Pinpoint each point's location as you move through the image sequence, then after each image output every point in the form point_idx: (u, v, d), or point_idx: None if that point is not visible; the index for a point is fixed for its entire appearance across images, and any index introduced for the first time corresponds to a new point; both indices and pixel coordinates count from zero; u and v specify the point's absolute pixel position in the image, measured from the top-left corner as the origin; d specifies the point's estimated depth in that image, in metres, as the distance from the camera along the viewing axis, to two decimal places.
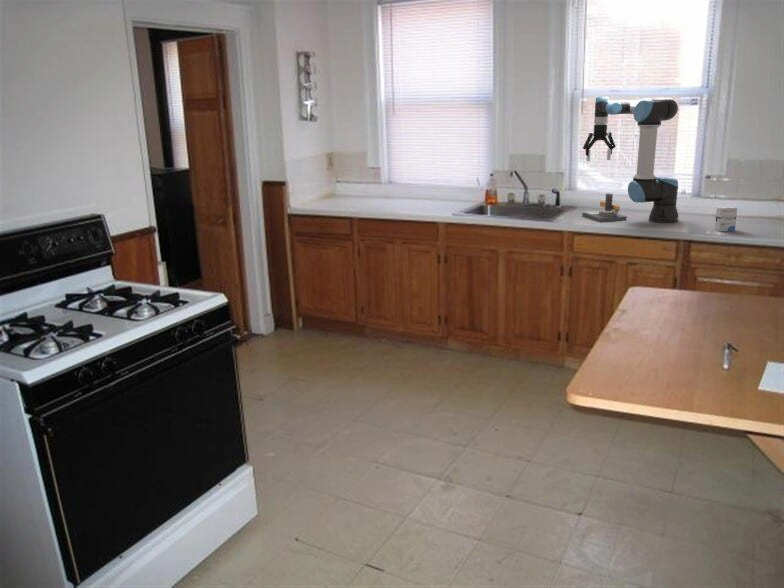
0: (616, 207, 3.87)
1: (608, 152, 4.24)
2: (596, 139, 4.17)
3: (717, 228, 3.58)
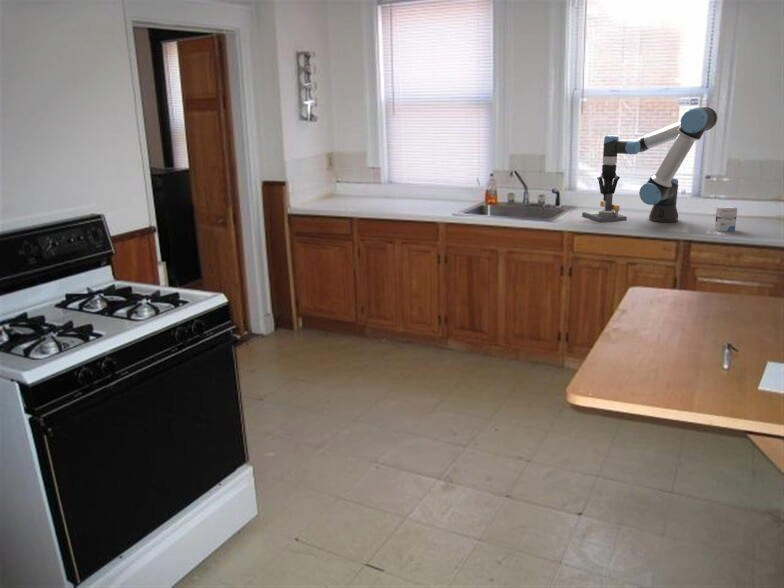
0: (616, 207, 3.87)
1: None
2: (607, 181, 3.91)
3: (717, 228, 3.58)
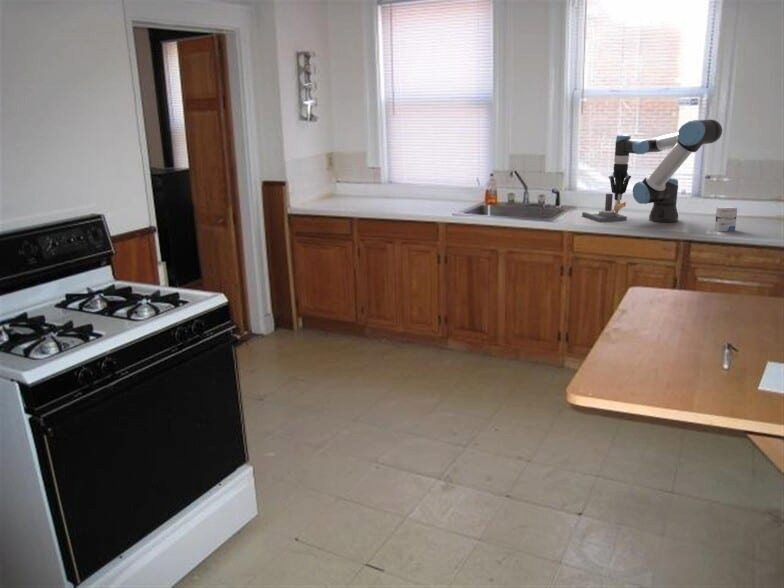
0: (614, 207, 3.88)
1: None
2: (619, 180, 3.92)
3: (717, 228, 3.58)
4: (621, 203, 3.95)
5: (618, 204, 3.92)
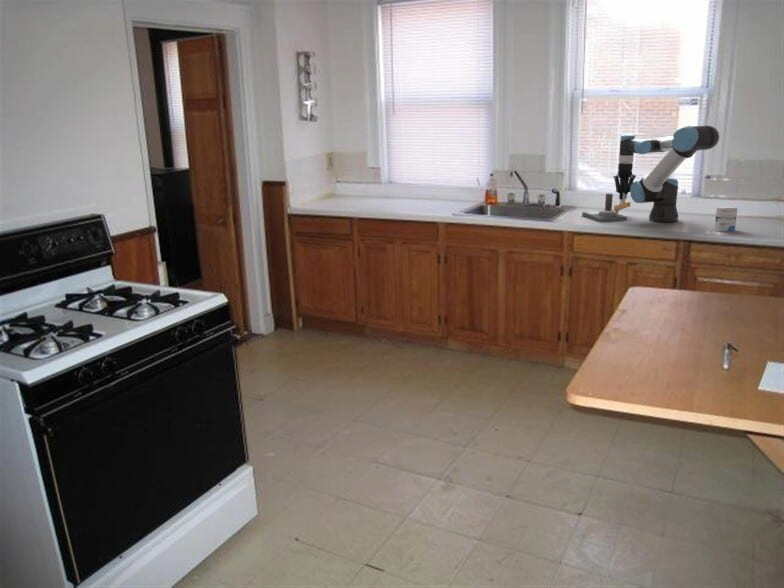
0: (614, 207, 3.88)
1: None
2: (624, 180, 3.93)
3: (717, 228, 3.58)
4: (624, 203, 3.94)
5: (619, 204, 3.92)
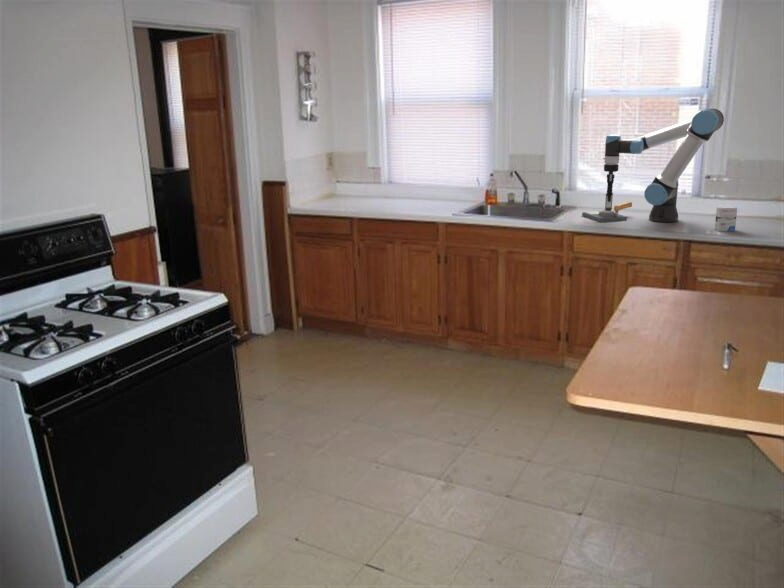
0: (614, 207, 3.88)
1: None
2: (613, 181, 3.85)
3: (717, 228, 3.58)
4: (624, 203, 3.94)
5: (620, 204, 3.92)
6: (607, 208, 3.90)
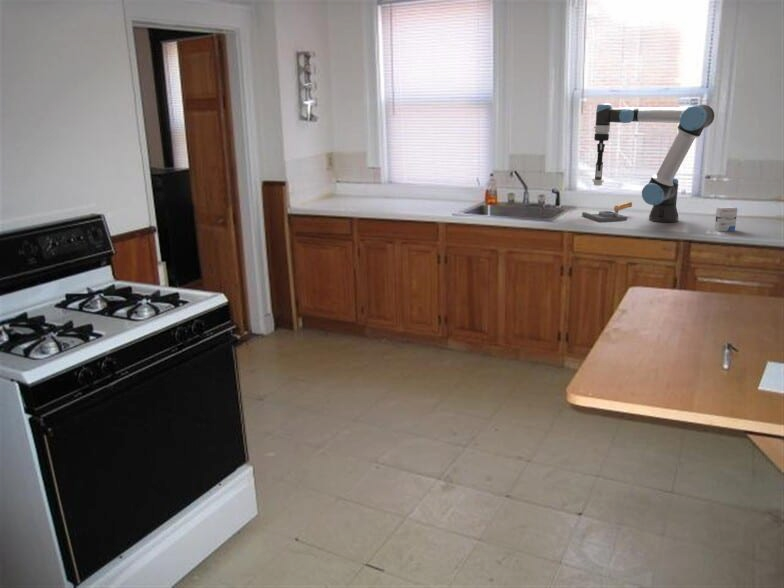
0: (614, 207, 3.88)
1: None
2: (603, 150, 3.87)
3: (717, 228, 3.58)
4: (624, 203, 3.94)
5: (620, 204, 3.92)
6: (597, 177, 3.92)
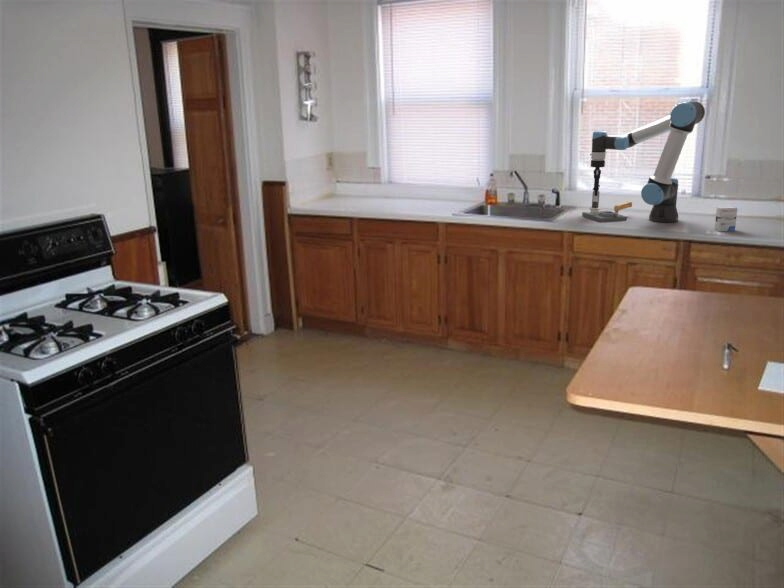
0: (614, 207, 3.88)
1: None
2: None
3: (717, 228, 3.58)
4: (624, 203, 3.94)
5: (620, 204, 3.92)
6: (594, 205, 3.98)
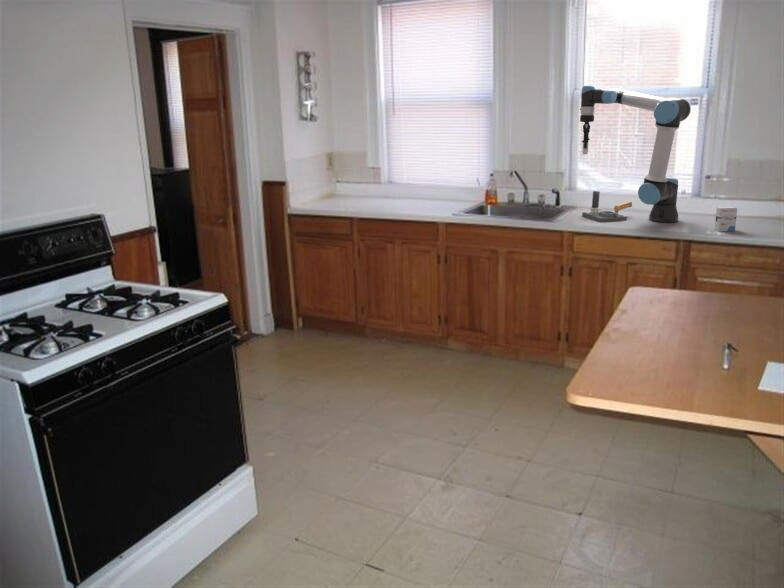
0: (614, 207, 3.88)
1: None
2: (589, 130, 3.94)
3: (717, 228, 3.58)
4: (624, 203, 3.94)
5: (620, 204, 3.92)
6: (594, 205, 3.98)
